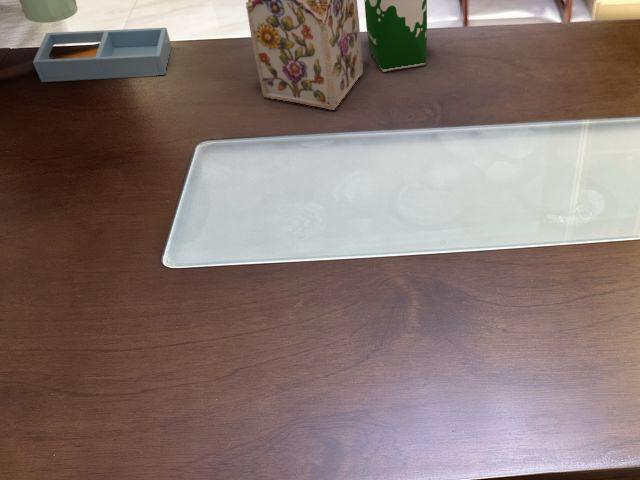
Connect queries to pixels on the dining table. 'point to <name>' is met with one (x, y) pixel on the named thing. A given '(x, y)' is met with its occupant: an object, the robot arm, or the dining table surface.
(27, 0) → the cup
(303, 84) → the decorative jar
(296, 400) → the dining table surface
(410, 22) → the milk carton
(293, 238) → the dining table surface
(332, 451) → the dining table surface
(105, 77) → the divided tray
